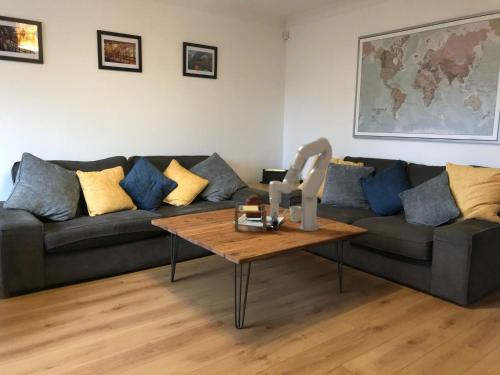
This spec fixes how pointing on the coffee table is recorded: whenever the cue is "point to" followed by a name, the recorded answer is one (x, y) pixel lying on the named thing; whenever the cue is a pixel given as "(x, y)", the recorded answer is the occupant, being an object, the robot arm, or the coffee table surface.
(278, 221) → the stone
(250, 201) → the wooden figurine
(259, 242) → the coffee table surface
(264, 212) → the frame
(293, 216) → the mug
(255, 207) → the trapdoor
